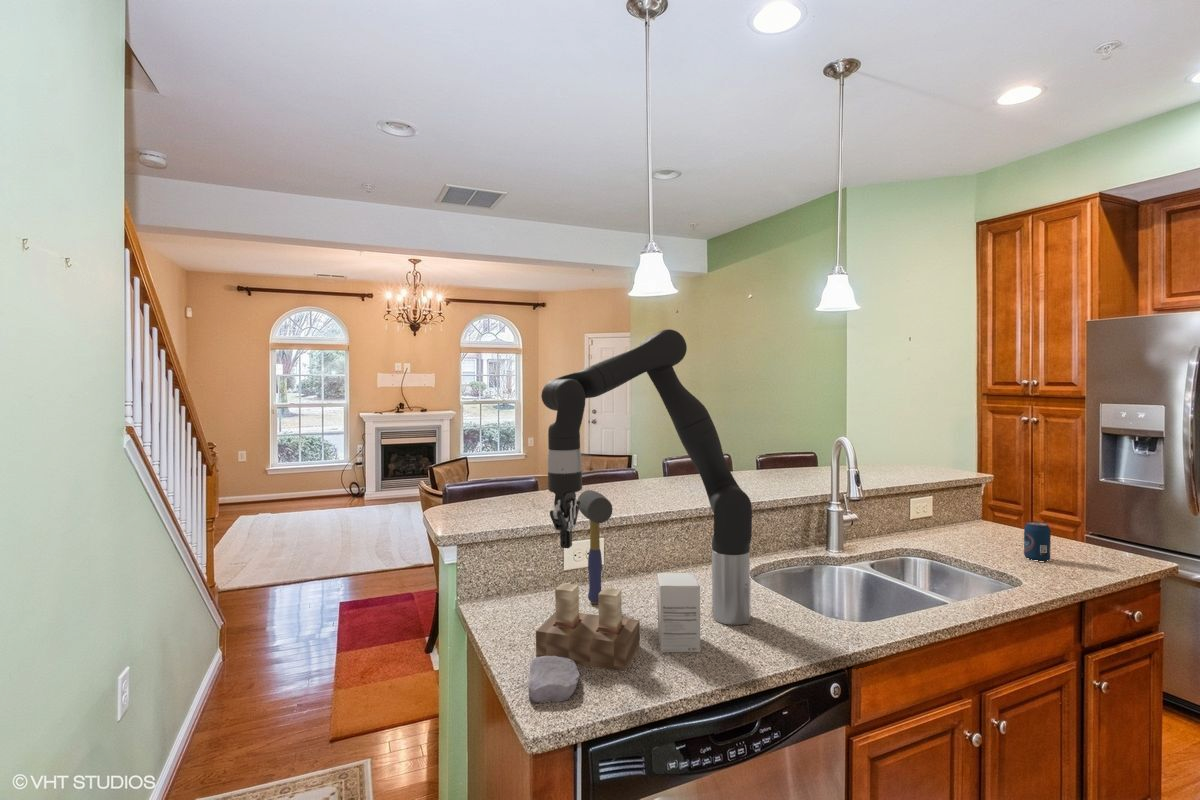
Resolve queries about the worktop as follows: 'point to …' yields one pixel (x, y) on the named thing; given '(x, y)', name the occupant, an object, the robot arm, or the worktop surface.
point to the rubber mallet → (594, 536)
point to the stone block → (552, 679)
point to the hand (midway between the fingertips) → (566, 547)
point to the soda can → (1037, 541)
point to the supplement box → (678, 612)
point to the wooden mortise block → (590, 642)
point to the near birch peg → (610, 611)
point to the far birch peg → (567, 606)
